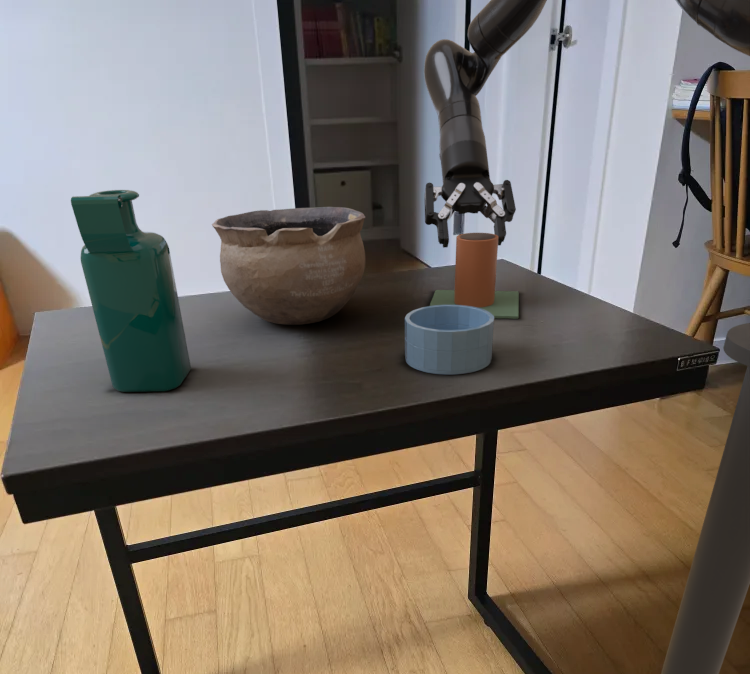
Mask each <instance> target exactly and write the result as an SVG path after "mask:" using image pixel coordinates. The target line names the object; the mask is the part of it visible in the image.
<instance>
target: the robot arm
mask: <svg viewBox="0 0 750 674" xmlns="http://www.w3.org/2000/svg"><path fill="white" fill-rule="evenodd" d="M547 1H548V0H489V2H487V4H486V5H485V6H483V8H482V9H481V10H480V11H479V12H478V13H477V14H476V15H475V17H474V18H473V19H472V20H471V21H470V23H469V25H468V29H467V39H468V42H469V45H470V47H471V49H472V51H473V52H471V51H470V50H467V48H465V47H463V46H461V45H460V44H458V43H457V42H455V41H454V40H450V39H446V38H444V39H440V40H437V41H435V42H434V43H433V44H432V45H431V47H430V48H429V49H428V51H427V53H426V55H425V59H424V63H423V78H424V83H425V86H426V89H427V92H428V95H429V98H430V100H431V103H432V105H433V108H434V109H435V112H436V114H437V120H438V130H439V155H438V156H439V160H440V167H441V177H442V186H434V184H433V183H432V182H426V184H425V189H424V195H423V198H424V199H423V201H424V223H425V225H427V226H429V225H430V226H431V225H434V226H436V230H437V231H436V232H437V242H438V244H439V245H442V248H443V249H444V248H448V247H449V243H450V235H449V224H448V221H449V220H450V219H451V218H452V217H453V216H454V214H455V213H458V215H464V214H479V212H480V214H482V215H483V216H484V217H485V218H486V219H489V220H490V221H491V222H492V223H493V234H495V235H497V236H498V246H502V243H504V241H505V238H506V235H507V228H506V222H507V223H511V222H512V221H513V219H514V215H515V213H516V211H517V208H516V202H515V197H514V192H513V187H512V182H511V180H508V179H505V180H504V181H502V183H499V184H494V183H493V182H492V180H491V176H490V166H489V159H488V150H487V141H486V135H485V132H484V129H483V121H482V112H481V106H480V101H479V99H478V97H477V96H478V94H479V93H480V92H481V91H482V90H483V88H484V86H485V84H486V83H487V81H488V79H489V77H490V76H491V74H492V73H493V71H494V69H495V68H496V66H497V65H498V64H499V62H500V60H501V58H502V57H503V56H504V55H505V54H507V52H508V51H509V50H511V48H512V47H514V46H515V45H516V44H517V43H518V41H520V40H521V39H522V38H523V37H524V36H525V35H526V34H527V33H528V32H529V31H530V30H531V28H532V27H533V26H534V25H535V23H536V22H537V21H538V19H539V17H540V15H541V13H542V12H543V10H544V7H545V5H546V3H547ZM674 1H675V2H676V3H677V5H678V7H679V8H680V9H681V10H682V11H683V12H684V14H685V15H686V16H687V17H688V18H689V19H690V20H691V21H692V22H694V23H695V24H696V25H697V26H698V27H700V28H701V29H703V31H705V32H707V33H708V34H709V35H711V36H712V37H713V38H715V39H716V40H718V41H719V42H720V43H721V44H723V45H725V46H727V47H728V48H730V49H733V50H734V51H736V52H738V53H741V54H743V55H746V56H748V57H750V0H674ZM493 194H495V195H496V196H497V199H498V200H499V201H501V205H502V207H501V206H500V205H499V204H498V203H497V200H496V198H494V196H493ZM440 196H441V198H442V199H443V201H444V202H445V203H444V205H443V207H442V208H441V210H440V211H439V212H436V211H435V204H434V203H435V202H437V201H438V198H439V197H440Z"/></svg>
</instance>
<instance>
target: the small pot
mask: <svg viewBox="0 0 750 674" xmlns="http://www.w3.org/2000/svg"><path fill="white" fill-rule="evenodd" d="M498 249H499V245H498V236H497V235H495V234H494V233H490V232H466V233H461V234H458V235H457V236H456V240H455V266H454V267H455V269H454V290H455V294H454V303H455V304H457V305H465V306H473V307H477V308H479V307H486V306H490V305H492V304H493V303H494V298H495V291H496V281H497V264H498Z"/></svg>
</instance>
